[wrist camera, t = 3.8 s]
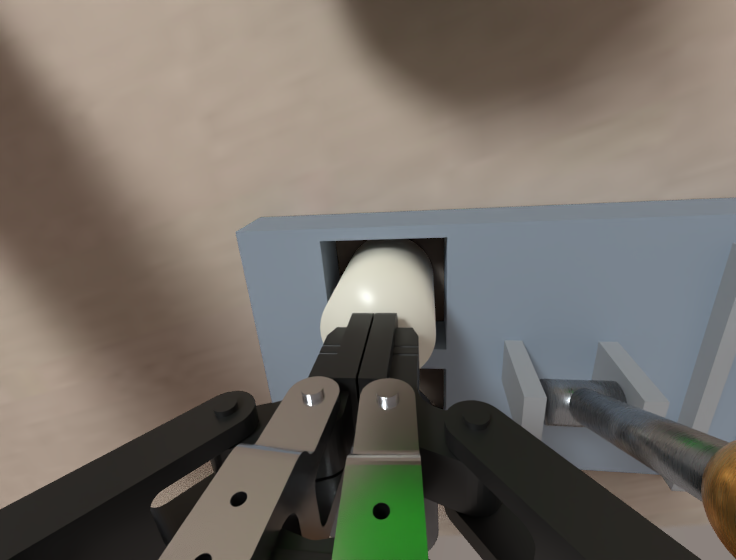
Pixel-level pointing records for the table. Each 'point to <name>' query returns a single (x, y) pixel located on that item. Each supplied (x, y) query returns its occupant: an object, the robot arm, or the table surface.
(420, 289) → the button
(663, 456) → the toggle lever
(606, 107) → the table surface
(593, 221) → the panel
